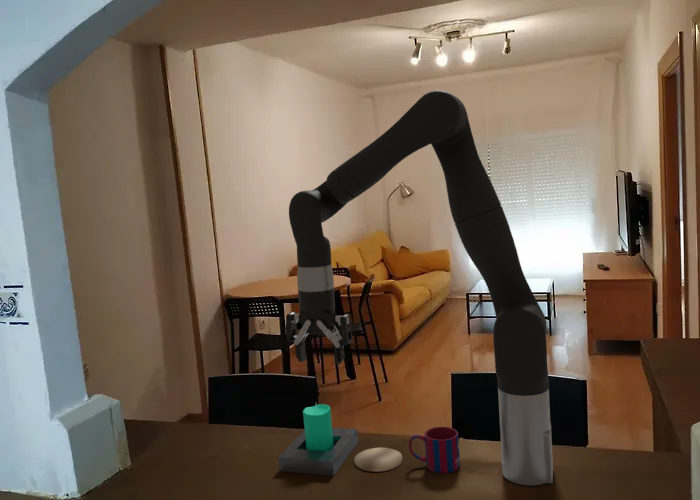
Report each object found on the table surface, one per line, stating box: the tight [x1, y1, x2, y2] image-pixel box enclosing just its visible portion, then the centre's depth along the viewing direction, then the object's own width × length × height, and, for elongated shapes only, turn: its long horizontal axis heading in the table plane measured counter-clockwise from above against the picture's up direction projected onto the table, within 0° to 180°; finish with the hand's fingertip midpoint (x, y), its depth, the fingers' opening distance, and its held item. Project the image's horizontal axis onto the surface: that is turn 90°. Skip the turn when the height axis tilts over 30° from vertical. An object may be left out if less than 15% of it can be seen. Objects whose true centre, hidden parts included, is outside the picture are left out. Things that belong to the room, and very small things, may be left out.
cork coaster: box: [354, 447, 403, 473], centre depth 126 cm, size 10×10×1 cm
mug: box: [408, 426, 461, 474], centre depth 122 cm, size 7×10×7 cm
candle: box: [302, 403, 334, 452], centre depth 130 cm, size 6×6×12 cm
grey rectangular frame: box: [278, 427, 359, 477], centre depth 131 cm, size 12×16×3 cm
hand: (320, 362), depth 127 cm, fingers open, 8 cm apart
